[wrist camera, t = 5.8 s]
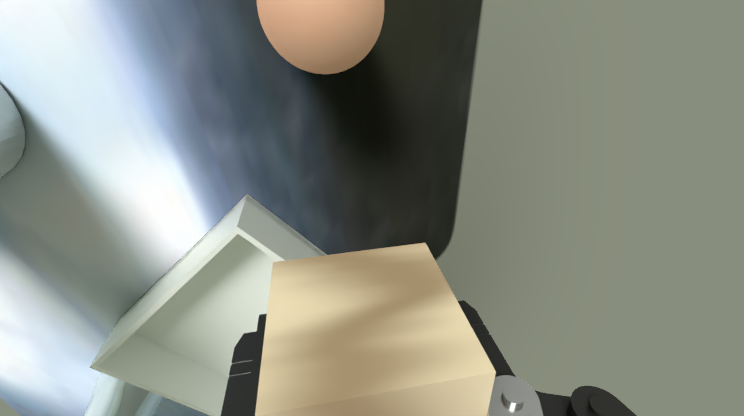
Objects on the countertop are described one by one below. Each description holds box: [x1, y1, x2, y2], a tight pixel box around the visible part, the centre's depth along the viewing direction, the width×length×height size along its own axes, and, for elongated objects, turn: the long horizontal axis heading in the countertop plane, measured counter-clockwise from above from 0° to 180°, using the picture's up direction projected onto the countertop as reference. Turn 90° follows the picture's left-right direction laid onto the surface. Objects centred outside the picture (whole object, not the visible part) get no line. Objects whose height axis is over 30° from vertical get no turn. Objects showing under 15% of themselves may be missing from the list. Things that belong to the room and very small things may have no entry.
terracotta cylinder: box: [257, 0, 384, 74], centre depth 18 cm, size 5×5×10 cm
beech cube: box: [255, 243, 496, 416], centre depth 11 cm, size 5×5×5 cm
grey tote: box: [89, 194, 326, 416], centre depth 30 cm, size 17×13×5 cm
